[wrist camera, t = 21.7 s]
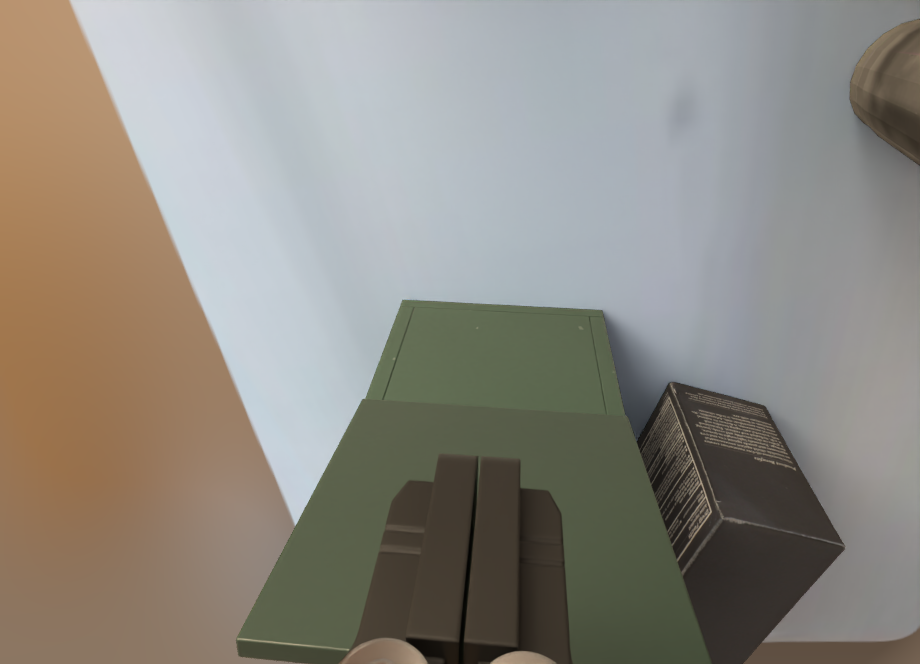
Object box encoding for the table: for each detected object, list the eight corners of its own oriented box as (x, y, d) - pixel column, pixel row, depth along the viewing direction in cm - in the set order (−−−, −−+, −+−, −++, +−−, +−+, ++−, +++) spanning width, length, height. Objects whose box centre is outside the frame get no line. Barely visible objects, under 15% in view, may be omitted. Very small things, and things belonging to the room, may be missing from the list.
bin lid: (717, 707, 14) (722, 687, 13) (237, 658, 14) (234, 639, 14) (626, 428, 25) (628, 415, 25) (362, 410, 26) (362, 398, 26)
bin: (579, 465, 39) (592, 590, 31) (409, 452, 40) (380, 572, 32) (602, 309, 33) (626, 416, 25) (402, 299, 34) (364, 399, 26)
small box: (694, 522, 41) (742, 677, 32) (603, 500, 41) (624, 650, 32) (773, 405, 35) (857, 552, 26) (668, 378, 35) (716, 518, 26)
